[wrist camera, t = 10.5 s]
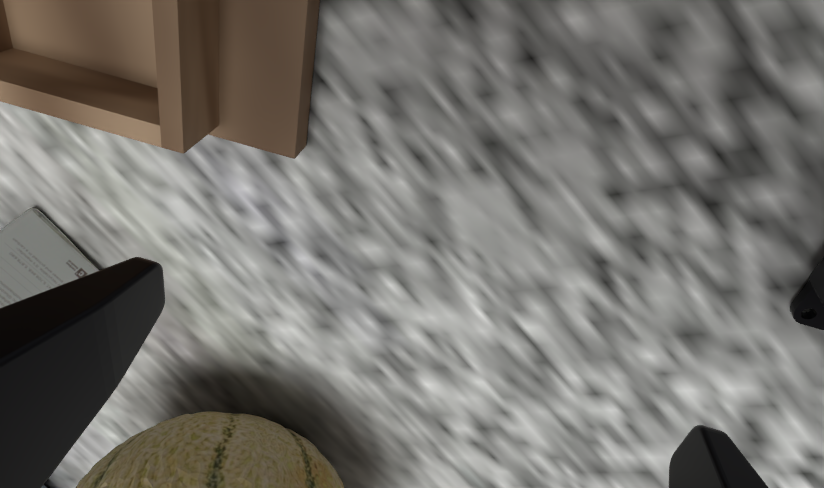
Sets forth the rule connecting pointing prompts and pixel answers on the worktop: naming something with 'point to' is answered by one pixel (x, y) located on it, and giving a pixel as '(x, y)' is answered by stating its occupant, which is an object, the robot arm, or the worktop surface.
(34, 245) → the skincare box
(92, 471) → the cantaloupe
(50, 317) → the robot arm
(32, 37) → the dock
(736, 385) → the worktop surface
